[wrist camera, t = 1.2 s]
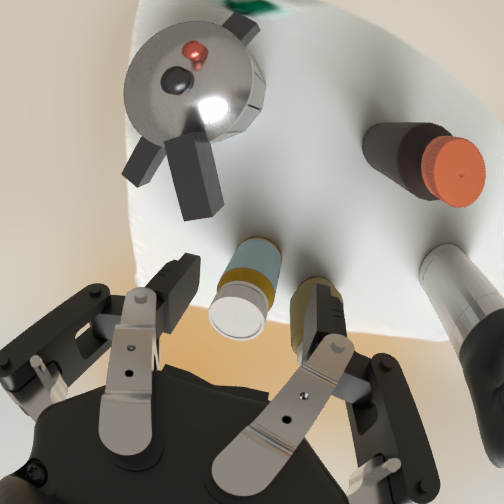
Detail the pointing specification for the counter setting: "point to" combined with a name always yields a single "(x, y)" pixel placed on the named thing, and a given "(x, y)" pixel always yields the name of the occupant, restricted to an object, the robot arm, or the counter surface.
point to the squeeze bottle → (299, 308)
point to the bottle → (246, 290)
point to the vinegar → (426, 161)
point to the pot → (152, 155)
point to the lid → (190, 104)
